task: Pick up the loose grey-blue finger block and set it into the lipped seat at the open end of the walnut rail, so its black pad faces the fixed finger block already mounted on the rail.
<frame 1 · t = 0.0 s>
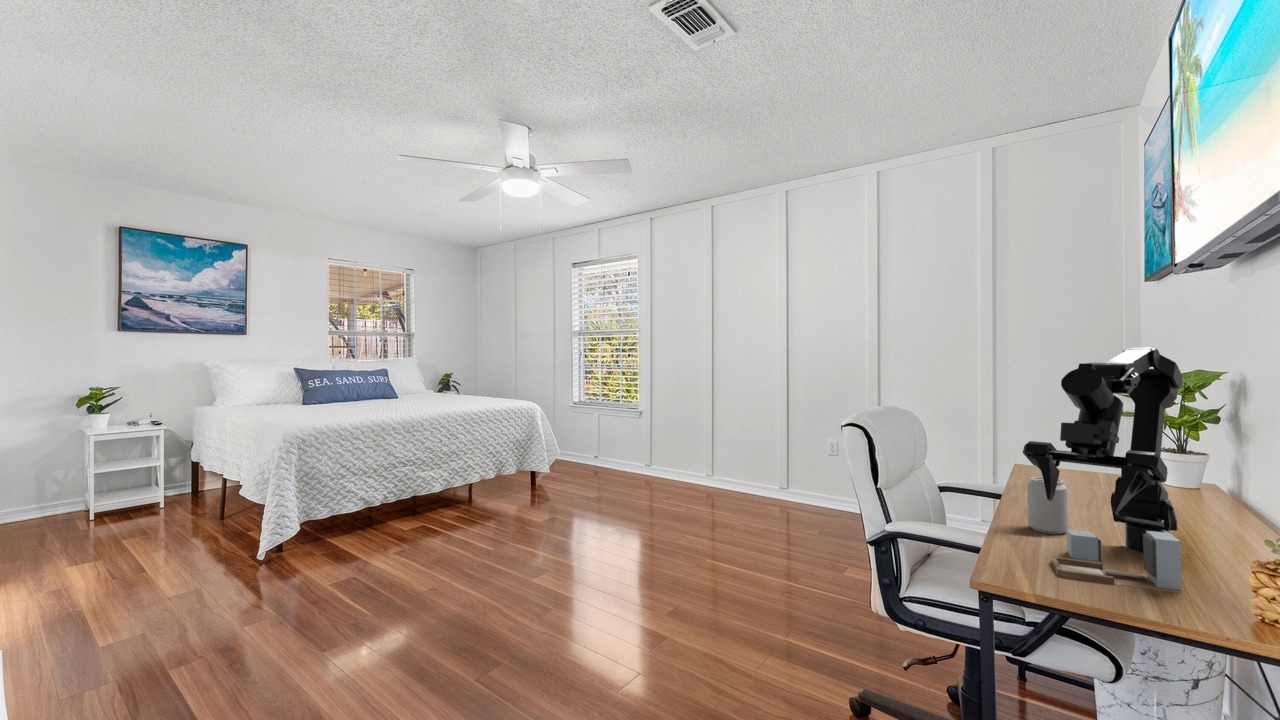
hand: (1081, 505, 92), 15 cm above the table, tool tilted 35°, fingers open, 9 cm apart
fixed finger: (1164, 583, 92), resting on rail
finger block: (1082, 564, 105), on the table
can: (1047, 531, 126), on the table
rail: (1110, 584, 95), on the table
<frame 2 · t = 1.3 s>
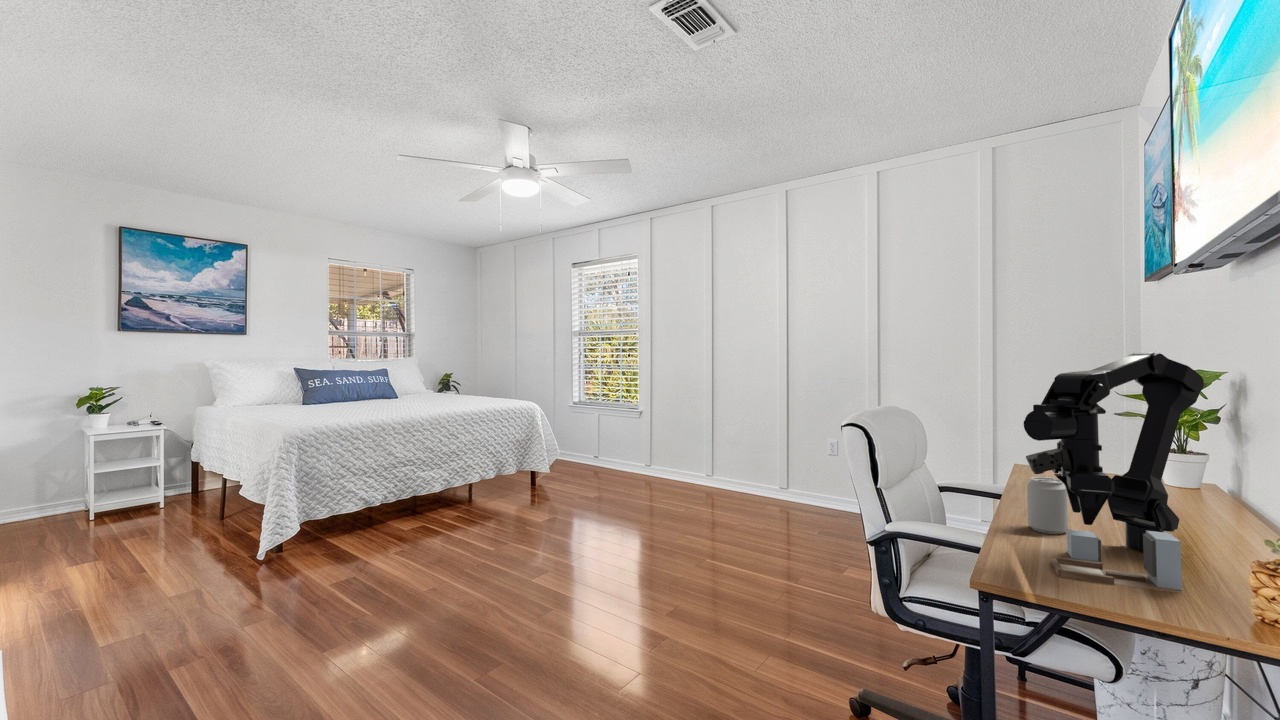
hand: (1081, 518, 105), 9 cm above the table, tool pointing down, fingers open, 9 cm apart
nothing on the table moved.
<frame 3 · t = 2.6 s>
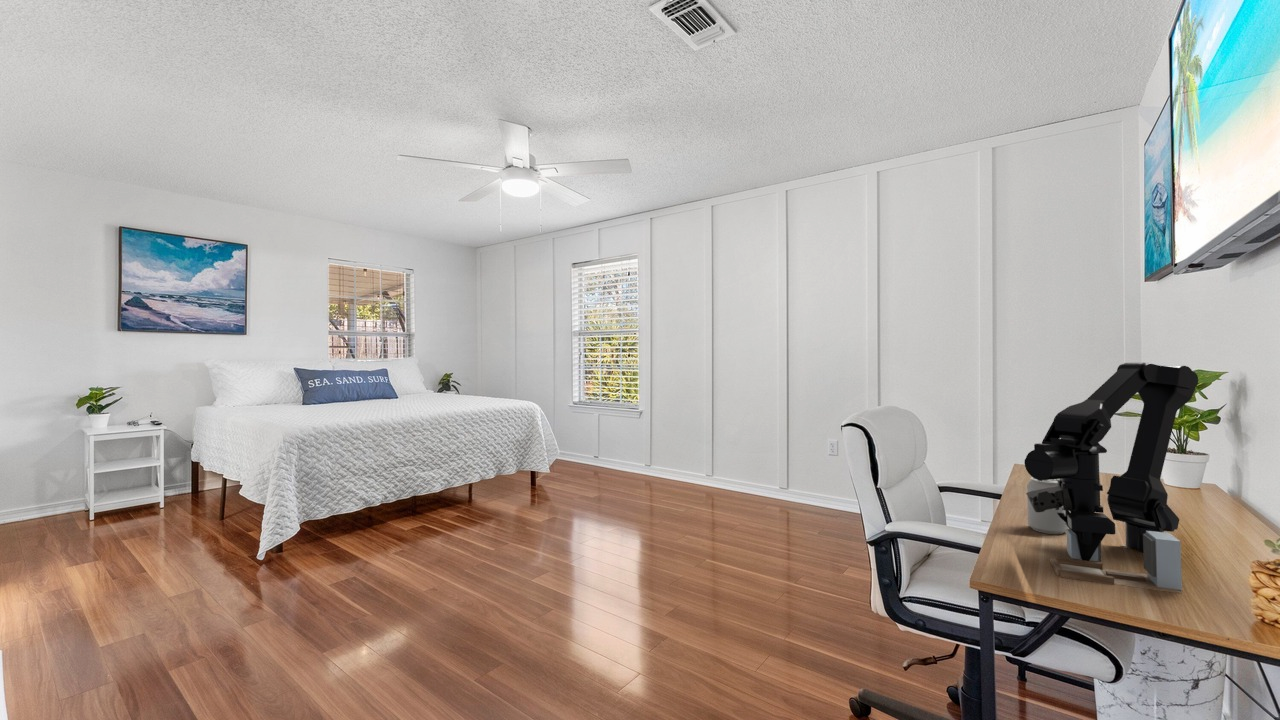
hand: (1082, 557, 105), 1 cm above the table, tool pointing down, fingers closed on finger block, 4 cm apart
finger block: (1082, 564, 105), on the table, touching gripper
everything else where it was.
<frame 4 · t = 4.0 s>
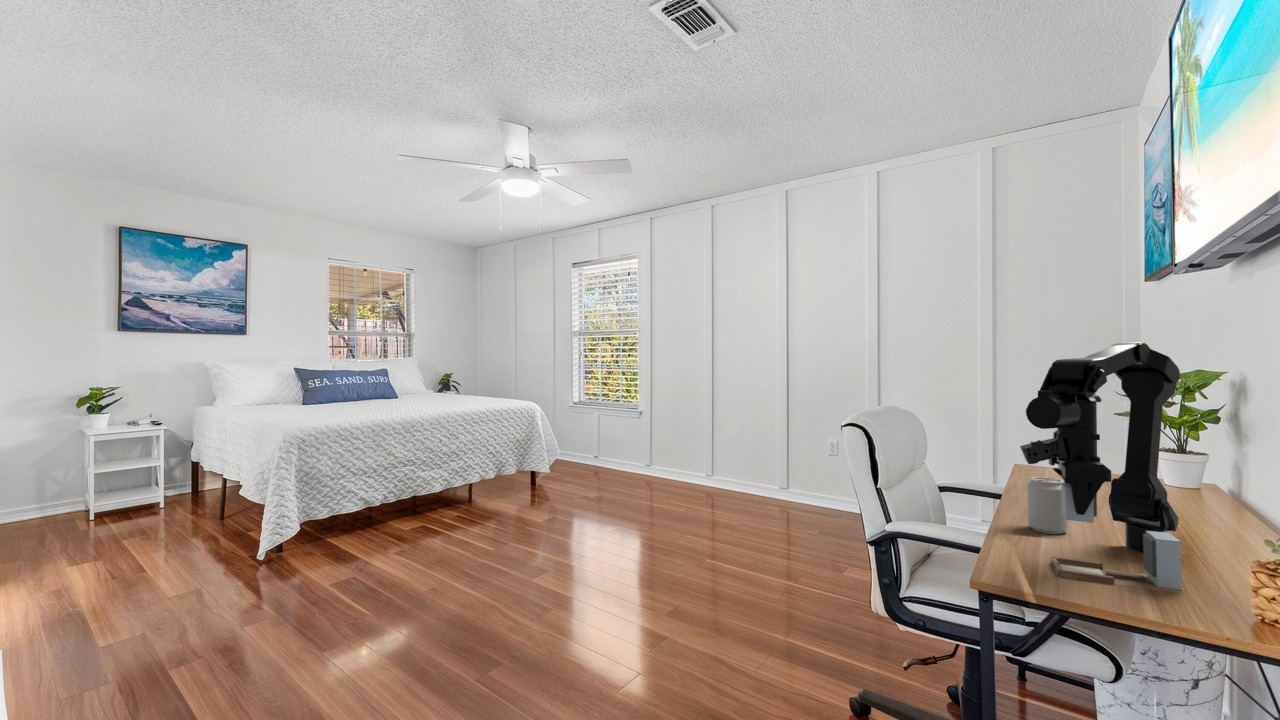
hand: (1077, 511, 100), 12 cm above the table, tool pointing down, fingers closed on finger block, 4 cm apart
finger block: (1077, 518, 100), point 10 cm above the table, touching gripper
everything else where it was.
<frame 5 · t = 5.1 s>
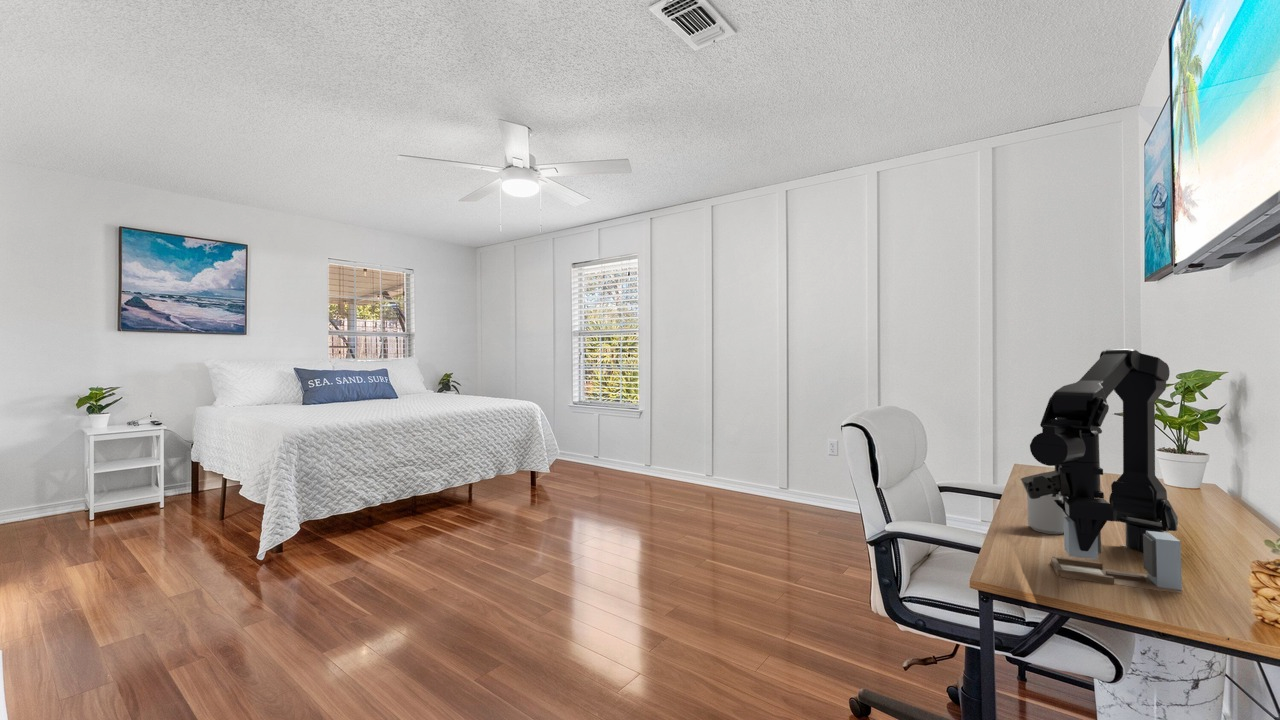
hand: (1081, 547, 97), 6 cm above the table, tool pointing down, fingers closed on finger block, 4 cm apart
finger block: (1080, 554, 97), point 5 cm above the table, touching gripper
everything else where it was.
when the fingers open (4 cm above the table, at t = 5.7 s): finger block drops 1 cm, resting on rail.
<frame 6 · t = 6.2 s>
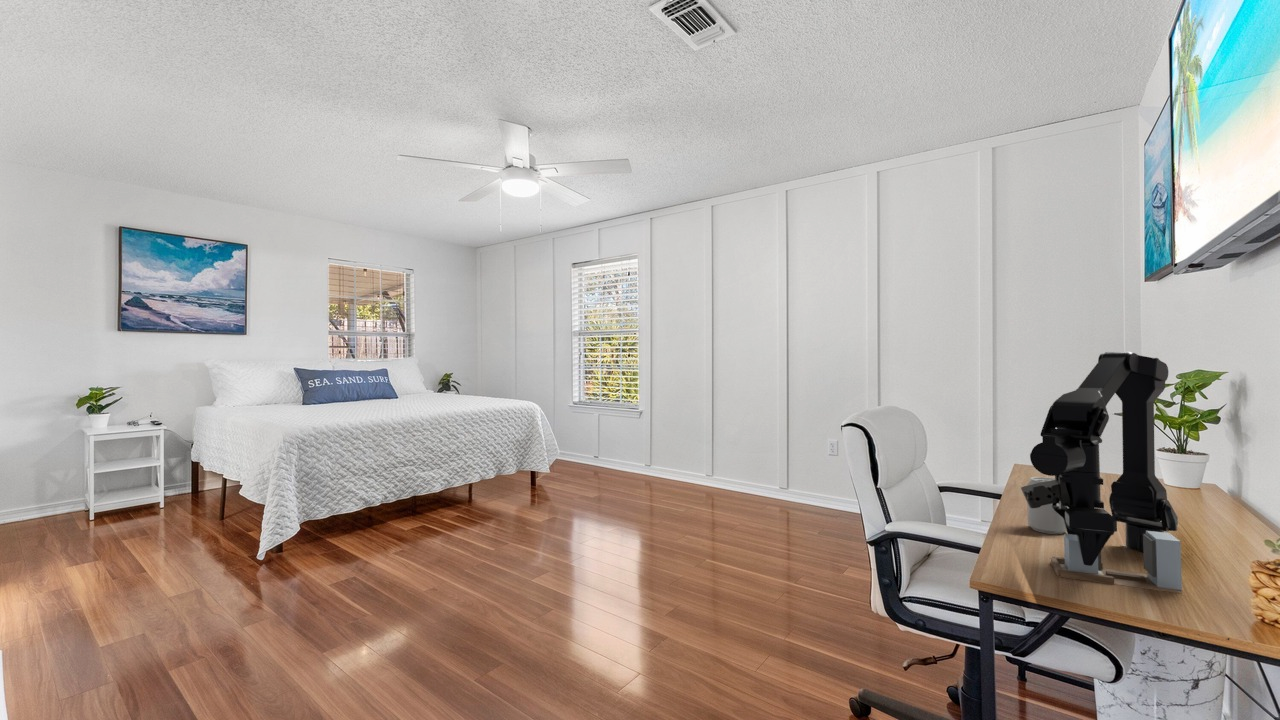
hand: (1081, 556, 97), 4 cm above the table, tool pointing down, fingers open, 9 cm apart
finger block: (1081, 571, 97), point 2 cm above the table, touching rail
everything else where it was.
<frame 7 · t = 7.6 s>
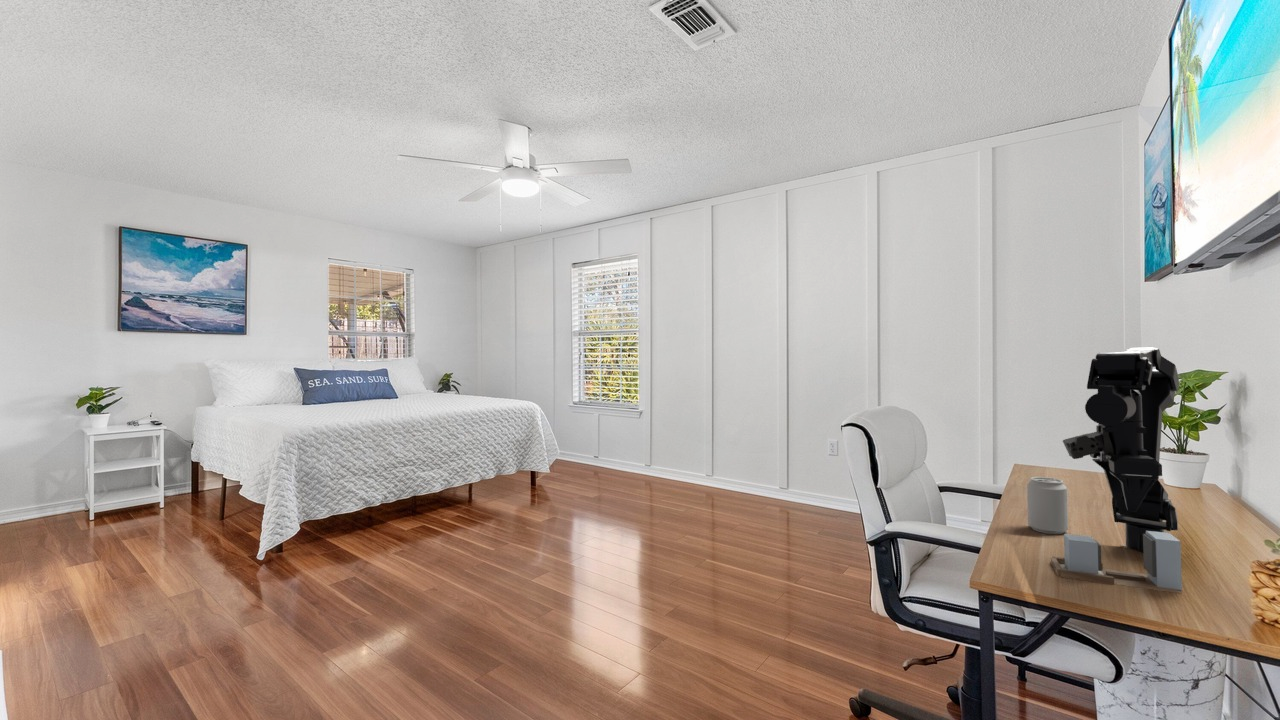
hand: (1124, 504, 99), 13 cm above the table, tool pointing down, fingers open, 9 cm apart
nothing on the table moved.
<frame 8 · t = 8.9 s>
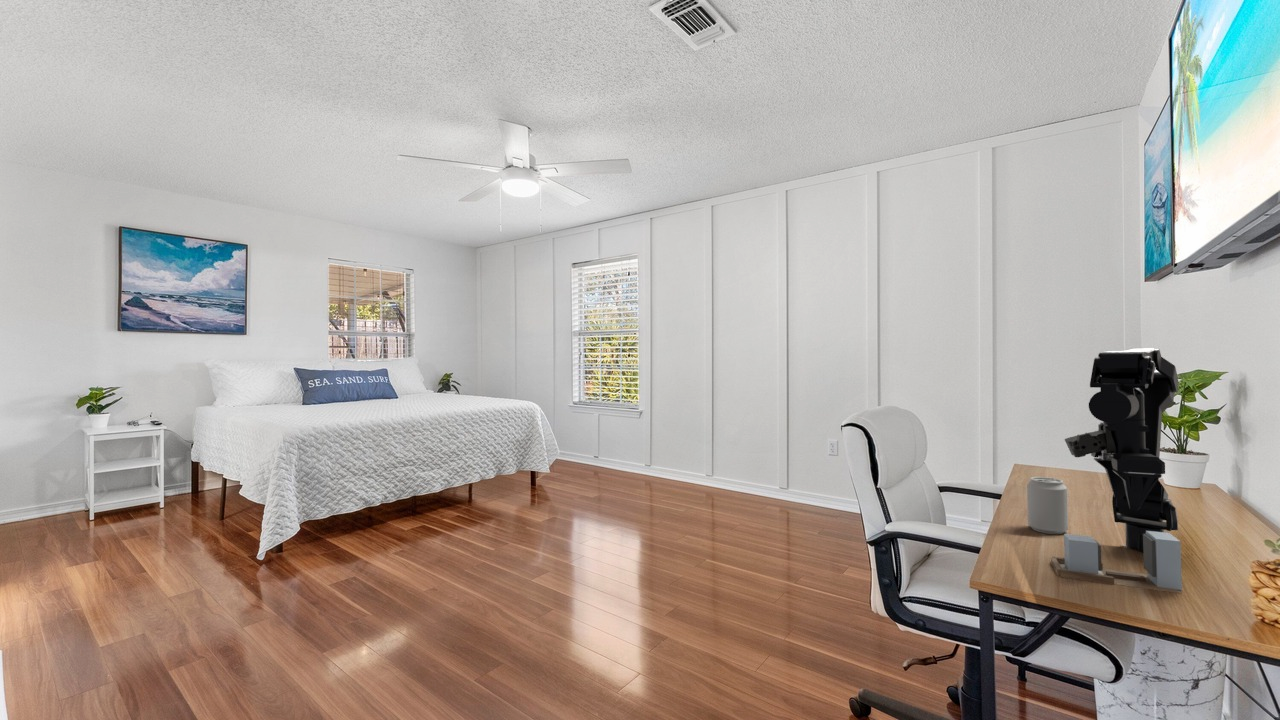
hand: (1125, 503, 99), 13 cm above the table, tool pointing down, fingers open, 9 cm apart
nothing on the table moved.
at the end: finger block 0.1 cm from the target spot on the rail, point 1.6 cm above the rail's base; finger block tilted 0°; the gripper is holding nothing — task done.
